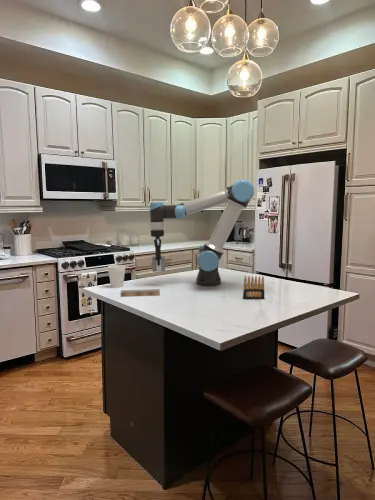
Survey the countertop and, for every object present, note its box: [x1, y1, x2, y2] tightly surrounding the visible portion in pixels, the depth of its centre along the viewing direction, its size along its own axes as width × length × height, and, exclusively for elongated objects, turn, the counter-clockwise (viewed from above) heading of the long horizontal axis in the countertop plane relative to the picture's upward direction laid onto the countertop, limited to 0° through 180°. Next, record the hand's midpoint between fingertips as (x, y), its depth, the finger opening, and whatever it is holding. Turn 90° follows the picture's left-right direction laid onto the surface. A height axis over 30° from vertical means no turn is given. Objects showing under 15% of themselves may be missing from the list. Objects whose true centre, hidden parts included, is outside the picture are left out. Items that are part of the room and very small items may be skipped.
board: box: [120, 292, 161, 298], centre depth 186 cm, size 20×13×2 cm, turn 98°
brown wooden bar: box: [120, 288, 161, 295], centre depth 186 cm, size 20×2×2 cm, turn 98°
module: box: [150, 255, 166, 273], centre depth 203 cm, size 8×5×8 cm, turn 98°
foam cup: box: [107, 264, 126, 289], centre depth 200 cm, size 10×9×13 cm
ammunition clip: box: [242, 275, 266, 300], centre depth 180 cm, size 11×2×12 cm, turn 89°
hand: (158, 270), depth 204 cm, fingers closed on module, 5 cm apart
